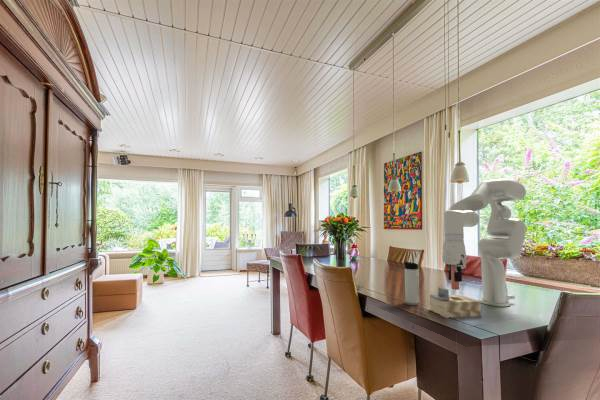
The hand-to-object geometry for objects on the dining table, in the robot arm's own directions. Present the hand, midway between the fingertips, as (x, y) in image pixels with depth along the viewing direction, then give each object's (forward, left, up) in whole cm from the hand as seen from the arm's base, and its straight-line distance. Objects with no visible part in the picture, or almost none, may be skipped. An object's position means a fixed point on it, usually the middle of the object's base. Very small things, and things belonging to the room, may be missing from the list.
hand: (455, 280), depth 129 cm
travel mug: (+12, -16, -14) cm, 24 cm away
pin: (0, 0, -4) cm, 4 cm away
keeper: (+8, 0, -8) cm, 11 cm away
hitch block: (+1, 0, -14) cm, 14 cm away
